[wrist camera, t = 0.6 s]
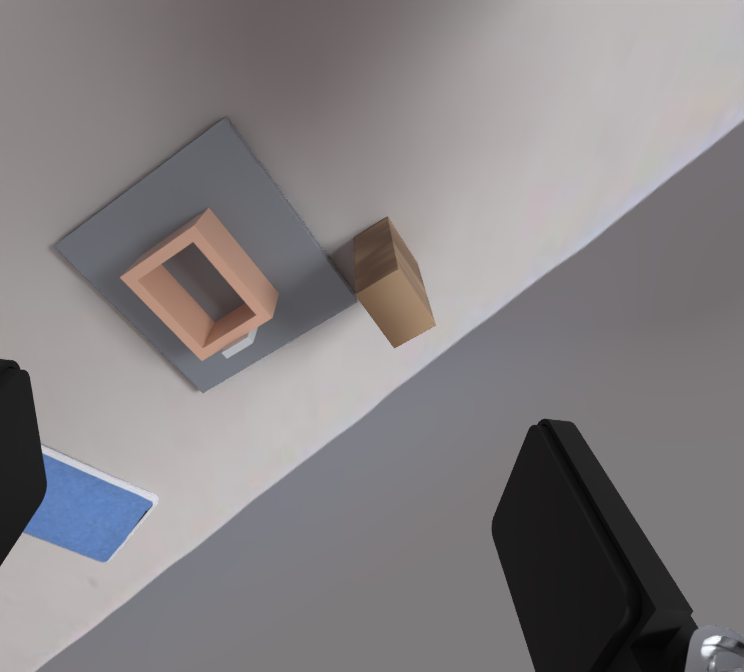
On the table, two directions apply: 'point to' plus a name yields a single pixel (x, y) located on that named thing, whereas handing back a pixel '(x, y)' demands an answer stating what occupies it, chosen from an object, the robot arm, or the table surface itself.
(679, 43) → the table surface
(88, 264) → the square base with socket
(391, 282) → the wooden rectangular block
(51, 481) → the tablet computer
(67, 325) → the table surface
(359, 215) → the table surface
